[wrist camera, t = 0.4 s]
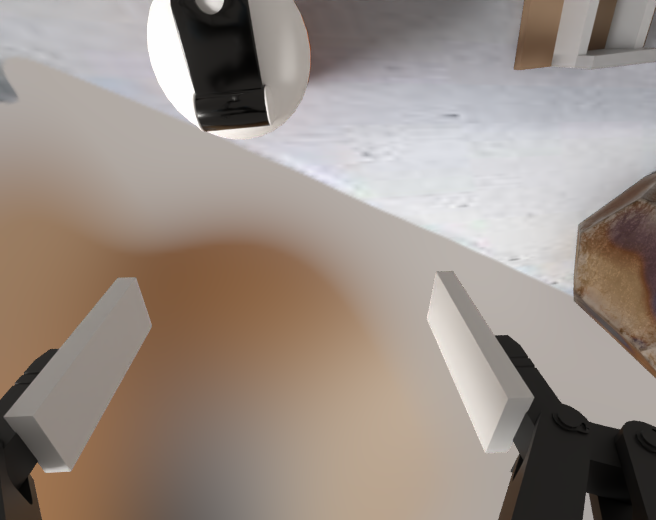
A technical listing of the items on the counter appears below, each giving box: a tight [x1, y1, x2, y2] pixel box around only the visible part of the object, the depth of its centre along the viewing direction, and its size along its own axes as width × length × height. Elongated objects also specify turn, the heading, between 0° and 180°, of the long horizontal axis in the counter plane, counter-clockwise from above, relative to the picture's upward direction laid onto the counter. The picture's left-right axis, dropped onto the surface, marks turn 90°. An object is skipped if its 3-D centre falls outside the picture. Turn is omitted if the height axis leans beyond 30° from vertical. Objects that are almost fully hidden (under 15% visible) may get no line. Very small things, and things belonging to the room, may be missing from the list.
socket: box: [551, 0, 656, 69], centre depth 31 cm, size 6×6×6 cm
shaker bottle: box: [147, 0, 311, 139], centre depth 26 cm, size 9×9×20 cm
